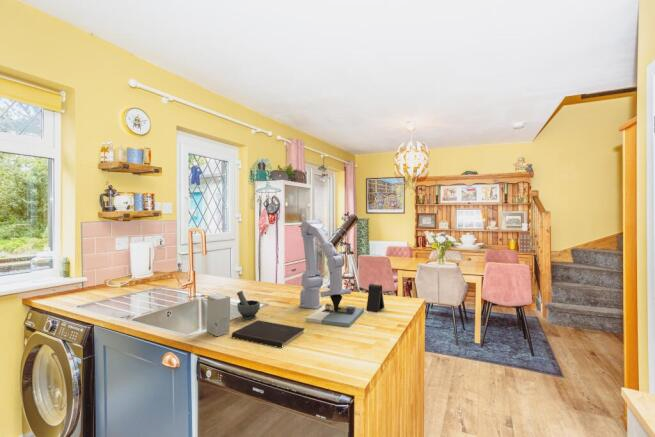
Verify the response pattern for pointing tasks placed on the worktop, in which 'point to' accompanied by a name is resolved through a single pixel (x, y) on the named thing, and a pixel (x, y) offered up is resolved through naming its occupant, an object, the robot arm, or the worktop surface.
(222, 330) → the skincare box
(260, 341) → the hardcover book
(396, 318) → the worktop surface
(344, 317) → the door panel
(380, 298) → the phone stand
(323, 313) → the jamb plate
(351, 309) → the swing bar
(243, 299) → the mortar and pestle
